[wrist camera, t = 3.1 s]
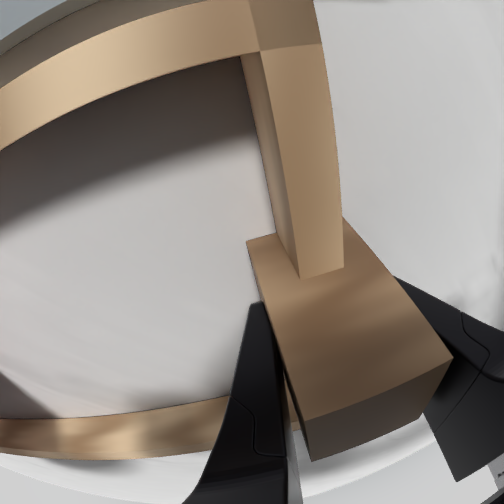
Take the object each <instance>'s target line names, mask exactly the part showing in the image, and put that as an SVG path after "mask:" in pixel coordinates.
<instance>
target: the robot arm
mask: <svg viewBox="0 0 504 504" xmlns="http://www.w3.org/2000/svg"><path fill="white" fill-rule="evenodd" d="M392 276H393V275H392ZM393 277H394V278H395V279H396V281H397V282H398V283H399V284H400V286H401V287H402V288H403V289H404V291H405V292H406V293H407V295H408V296H409V297H410V298H411V300H412V301H413V302H414V304H415V305H416V306H417V308H418V309H419V310H420V312H421V313H422V314H423V316H424V317H425V318H426V320H427V321H428V322H429V324H430V325H431V326H432V328H433V329H434V331H435V332H436V333H437V335H438V336H439V338H440V339H441V340H442V342H443V343H444V345H445V346H446V348H447V349H448V350H449V352H450V353H451V355H452V356H453V360H452V362H451V363H450V365H449V367H448V369H447V371H446V373H445V375H444V377H443V379H442V380H441V382H440V384H439V386H438V388H437V389H436V391H435V393H434V395H433V396H432V398H431V400H430V401H429V403H428V405H427V406H426V408H425V409H424V411H423V414H424V415H425V417H426V419H427V421H428V423H429V425H430V428H431V430H432V432H433V433H434V436H435V438H436V440H437V442H438V444H439V446H440V448H441V451H442V453H443V455H444V457H445V459H446V461H447V463H448V466H449V468H450V470H451V472H452V475H453V477H454V479H455V481H456V482H458V481H460V480H462V479H464V478H465V477H467V476H469V475H471V474H472V473H474V472H475V471H477V470H479V469H481V468H482V467H484V466H485V465H488V467H489V468H490V471H491V473H492V475H493V477H494V479H495V483H496V485H497V487H498V490H499V491H497V492H496V493H495V494H493V495H492V496H491V497H489V498H488V499H487V500H485V501H484V502H482V503H481V504H504V332H503V331H501V330H498V329H496V328H494V327H492V326H489V325H487V324H485V323H483V322H481V321H479V320H477V319H475V318H473V317H471V316H469V315H468V314H466V313H464V312H460V310H458V309H456V308H454V307H453V306H451V305H449V304H447V303H445V302H443V301H441V300H439V299H438V298H436V297H434V296H432V295H430V294H428V293H426V292H424V291H422V290H420V289H418V288H417V287H415V286H413V285H411V284H409V283H407V282H405V281H403V280H401V279H399V278H397V277H395V276H393ZM300 487H301V486H300V479H299V472H298V465H297V458H296V452H295V445H294V438H293V432H292V425H291V419H290V412H289V406H288V399H287V393H286V386H285V380H284V374H283V368H282V364H281V360H280V356H279V352H278V348H277V344H276V340H275V336H274V332H273V329H272V326H271V323H270V320H269V317H268V314H267V311H266V308H265V305H264V302H263V301H260V302H256V303H253V304H251V305H250V308H249V312H248V317H247V321H246V325H245V330H244V334H243V338H242V343H241V347H240V352H239V356H238V360H237V365H236V369H235V373H234V378H233V382H232V386H231V390H230V397H229V398H228V403H227V407H226V411H225V414H224V418H223V422H222V425H221V428H220V430H219V433H218V436H217V439H216V441H215V444H214V446H213V449H212V451H211V454H210V456H209V459H208V461H207V464H206V466H205V468H204V471H203V473H202V475H201V478H200V480H199V482H198V484H197V485H196V487H195V489H194V490H193V492H192V493H191V494H190V495H189V497H188V498H187V499H186V500H185V501H184V502H183V503H182V504H303V499H302V492H301V488H300Z"/></svg>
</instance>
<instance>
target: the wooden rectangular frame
mask: <svg viewBox="0 0 504 504" xmlns="http://www.w3.org/2000/svg"><path fill="white" fill-rule="evenodd" d="M237 56H240V59H241V63H242V67H243V72H244V76H245V81H246V85H247V89H248V94H249V99H250V103H251V108H252V112H253V117H254V122H255V126H256V131H257V136H258V141H259V145H260V150H261V155H262V160H263V165H264V170H265V175H266V180H267V185H268V190H269V195H270V200H271V205H272V210H273V215H274V221H275V226H276V231H277V233H274V234H270V235H266V236H263V237H259V238H255V239H252V240H248V241H246V244H247V248H248V252H249V256H250V259H251V263H252V267H253V271H254V275H255V279H256V283H257V286H258V290H259V294H260V298H261V301H263V302H264V305H265V308H266V311H267V314H268V317H269V320H270V323H271V326H272V329H273V332H274V336H275V340H276V344H277V348H278V352H279V356H280V360H281V364H282V368H283V374H284V377H285V380H286V381H285V386H286V393H287V399H288V406H289V412H290V419H291V425H292V431H296V430H299V429H301V431H302V434H303V437H304V440H305V443H306V447H307V450H308V453H309V456H310V459H311V462H313V461H316V460H319V459H322V458H325V457H328V456H331V455H334V454H337V453H340V452H343V451H345V450H348V449H351V448H353V447H356V446H359V445H361V444H364V443H366V442H369V441H371V440H374V439H376V438H378V437H381V436H383V435H385V434H387V433H390V432H392V431H394V430H396V429H398V428H401V427H403V426H405V425H407V424H409V423H411V422H413V421H415V420H417V419H419V417H420V416H421V414H422V413H423V411H424V409H425V408H426V406H427V405H428V403H429V401H430V400H431V398H432V396H433V395H434V393H435V391H436V389H437V388H438V386H439V384H440V382H441V380H442V379H443V377H444V375H445V373H446V371H447V369H448V367H449V365H450V363H451V362H452V360H453V356H452V355H451V353H450V352H449V350H448V349H447V348H446V346H445V345H444V343H443V342H442V340H441V339H440V338H439V336H438V335H437V333H436V332H435V331H434V329H433V328H432V326H431V325H430V324H429V322H428V321H427V320H426V318H425V317H424V316H423V314H422V313H421V312H420V310H419V309H418V308H417V306H416V305H415V304H414V302H413V301H412V300H411V298H410V297H409V296H408V295H407V293H406V292H405V291H404V289H403V288H402V287H401V286H400V284H399V283H398V282H397V281H396V279H395V278H394V277H393V276H392V274H391V273H390V272H389V271H388V269H387V268H386V267H385V266H384V264H383V263H382V262H381V261H380V260H379V258H378V257H377V256H376V255H375V254H374V252H373V251H372V250H371V249H370V248H369V246H368V245H367V244H366V243H365V242H364V241H363V239H362V238H361V237H360V236H359V235H358V234H357V233H356V231H355V230H354V229H353V228H352V227H351V226H350V225H349V223H348V222H347V221H346V220H345V219H344V218H343V217H342V207H341V192H340V179H339V167H338V156H337V146H336V137H335V128H334V120H333V112H332V104H331V97H330V90H329V84H328V77H327V71H326V65H325V59H324V53H323V48H322V42H321V37H320V32H319V27H318V22H317V17H316V13H315V8H314V4H313V0H206V1H202V2H197V3H193V4H189V5H185V6H181V7H177V8H173V9H170V10H166V11H163V12H159V13H156V14H153V15H150V16H147V17H144V18H141V19H138V20H135V21H132V22H129V23H126V24H124V25H121V26H118V27H116V28H113V29H111V30H108V31H106V32H103V33H101V34H99V35H96V36H94V37H92V38H90V39H87V40H85V41H83V42H81V43H79V44H77V45H74V46H72V47H70V48H68V49H66V50H64V51H62V52H60V53H59V54H57V55H55V56H53V57H51V58H49V59H47V60H46V61H44V62H42V63H40V64H39V65H37V66H35V67H33V68H32V69H30V70H28V71H27V72H25V73H24V74H22V75H20V76H19V77H17V78H16V79H14V80H13V81H11V82H10V83H8V84H7V85H5V86H4V87H2V88H1V89H0V151H1V150H3V149H4V148H6V147H7V146H9V145H11V144H12V143H14V142H16V141H17V140H19V139H21V138H22V137H24V136H26V135H27V134H29V133H31V132H33V131H35V130H36V129H38V128H40V127H42V126H44V125H46V124H47V123H49V122H51V121H53V120H55V119H57V118H59V117H61V116H63V115H65V114H67V113H69V112H71V111H74V110H76V109H78V108H80V107H82V106H84V105H87V104H89V103H91V102H93V101H96V100H98V99H100V98H103V97H105V96H108V95H110V94H113V93H115V92H118V91H120V90H123V89H126V88H128V87H131V86H134V85H136V84H139V83H142V82H145V81H148V80H151V79H154V78H157V77H160V76H163V75H166V74H170V73H173V72H176V71H180V70H183V69H187V68H191V67H194V66H198V65H202V64H206V63H210V62H214V61H218V60H223V59H227V58H232V57H237ZM229 397H230V395H228V396H224V397H220V398H215V399H210V400H206V401H201V402H196V403H190V404H185V405H180V406H174V407H168V408H162V409H155V410H149V411H142V412H134V413H126V414H117V415H108V416H97V417H84V418H67V419H0V453H6V454H13V455H21V456H29V457H39V458H51V459H69V460H121V459H140V458H153V457H163V456H172V455H181V454H188V453H195V452H202V451H208V450H212V449H213V446H214V444H215V441H216V439H217V436H218V433H219V430H220V428H221V425H222V422H223V418H224V414H225V411H226V407H227V403H228V398H229Z"/></svg>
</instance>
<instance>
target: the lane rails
mask: <svg viewBox="0 0 504 504" xmlns="http://www.w3.org/2000/svg"><path fill="white" fill-rule="evenodd" d="M98 1H100V0H0V56H1V55H2V54H4V53H5V52H6V51H8V50H9V49H11V48H12V47H14V46H15V45H17V44H18V43H20V42H22V41H23V40H25V39H26V38H28V37H30V36H31V35H33V34H35V33H36V32H38V31H40V30H41V29H43V28H45V27H47V26H49V25H50V24H52V23H54V22H56V21H58V20H60V19H62V18H64V17H66V16H68V15H70V14H72V13H74V12H76V11H78V10H80V9H82V8H84V7H86V6H89V5H91V4H93V3H96V2H98Z"/></svg>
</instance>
